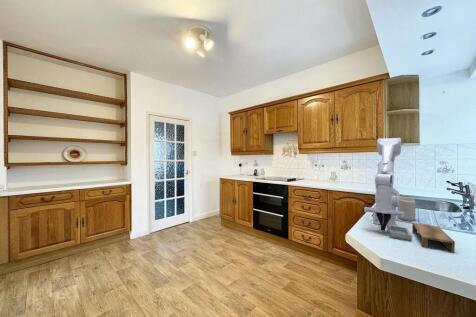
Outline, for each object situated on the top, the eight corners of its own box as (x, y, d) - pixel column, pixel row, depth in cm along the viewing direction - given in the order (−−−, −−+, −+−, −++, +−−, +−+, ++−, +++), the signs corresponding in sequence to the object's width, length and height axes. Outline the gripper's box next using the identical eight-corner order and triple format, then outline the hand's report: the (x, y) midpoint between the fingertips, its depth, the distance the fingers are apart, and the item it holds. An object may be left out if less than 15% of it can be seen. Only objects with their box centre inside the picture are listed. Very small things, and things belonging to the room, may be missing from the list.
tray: (390, 238, 86) (390, 231, 86) (387, 230, 95) (387, 224, 95) (411, 241, 82) (411, 235, 82) (406, 233, 91) (407, 227, 91)
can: (416, 222, 106) (417, 199, 106) (398, 219, 110) (399, 197, 110) (413, 218, 112) (414, 197, 112) (396, 216, 116) (397, 195, 116)
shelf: (422, 247, 78) (422, 236, 78) (412, 231, 93) (412, 222, 93) (454, 253, 73) (454, 241, 73) (438, 236, 88) (438, 226, 88)
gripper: (364, 199, 91) (364, 229, 92) (406, 204, 84) (405, 236, 84) (364, 196, 97) (364, 224, 98) (403, 200, 90) (402, 231, 90)
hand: (382, 229), depth 91 cm, fingers closed
